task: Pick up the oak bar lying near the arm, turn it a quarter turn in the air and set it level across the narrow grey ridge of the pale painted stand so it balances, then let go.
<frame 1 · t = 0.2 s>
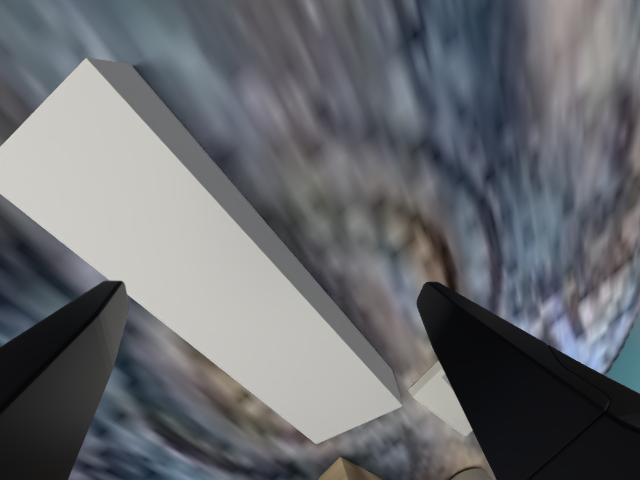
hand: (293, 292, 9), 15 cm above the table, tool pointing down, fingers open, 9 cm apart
fulcrum stand: (464, 382, 36), on the table
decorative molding: (245, 291, 26), on the table
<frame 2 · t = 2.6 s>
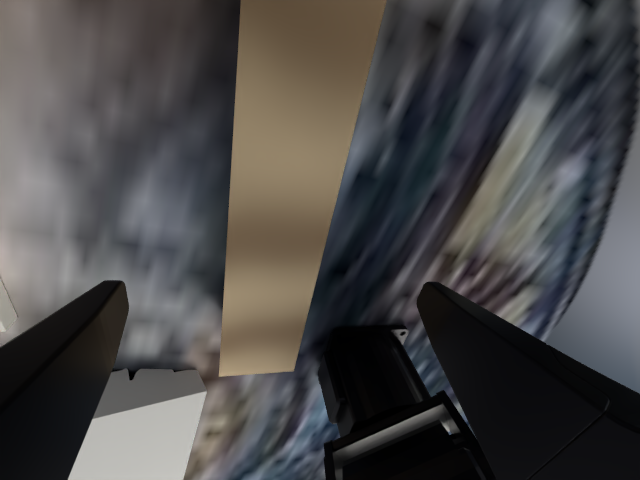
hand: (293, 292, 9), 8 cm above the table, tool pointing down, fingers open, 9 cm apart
oak bar: (269, 184, 16), on the table
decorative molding: (121, 474, 28), on the table
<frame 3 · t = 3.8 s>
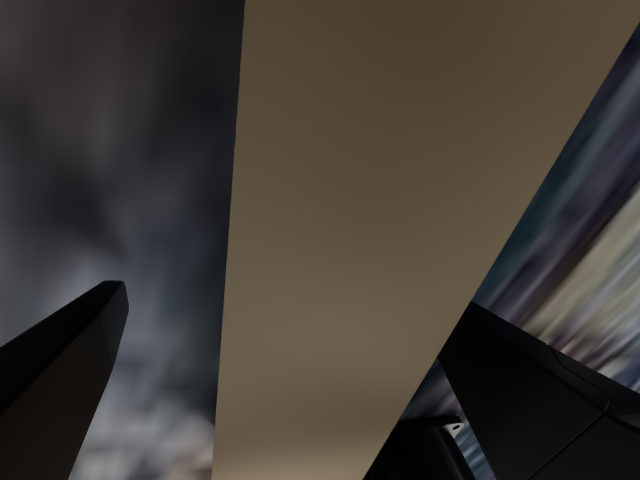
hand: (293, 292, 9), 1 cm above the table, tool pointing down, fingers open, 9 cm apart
oak bar: (288, 265, 10), on the table
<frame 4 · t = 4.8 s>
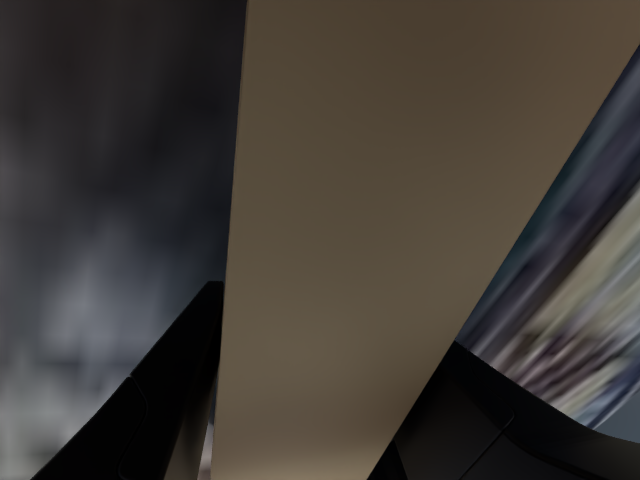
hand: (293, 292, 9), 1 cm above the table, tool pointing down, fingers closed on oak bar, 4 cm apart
oak bar: (288, 268, 10), on the table, touching gripper
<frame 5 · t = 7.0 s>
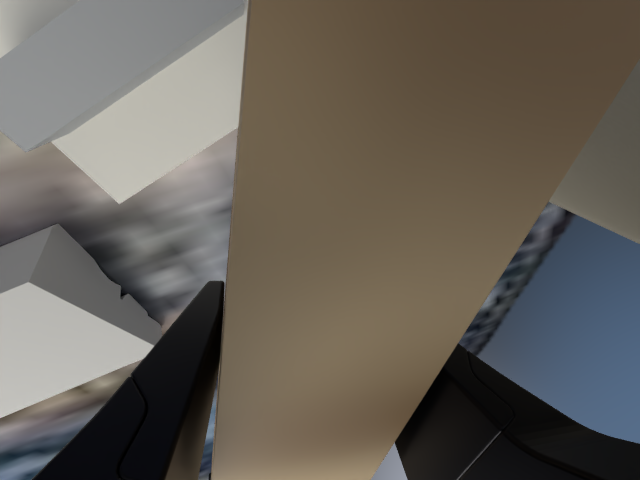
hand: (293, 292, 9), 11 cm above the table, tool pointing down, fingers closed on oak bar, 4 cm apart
oak bar: (290, 268, 10), point 10 cm above the table, touching gripper
fulcrum stand: (139, 49, 14), on the table
travel mug: (480, 95, 19), on the table
when the fingers open (7 cm above the table, at t = 9.0 s): oak bar drops 1 cm, resting on fulcrum stand.
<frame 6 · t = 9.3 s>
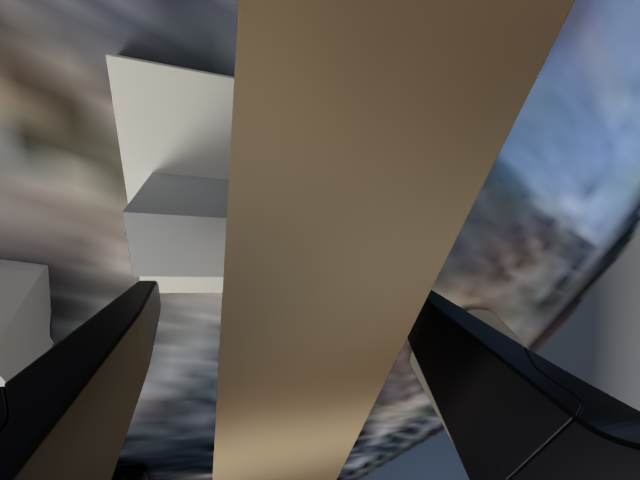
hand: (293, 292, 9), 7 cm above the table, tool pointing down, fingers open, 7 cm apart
oak bar: (285, 250, 11), point 4 cm above the table, touching fulcrum stand
fulcrum stand: (274, 200, 14), on the table
travel mug: (451, 339, 25), on the table
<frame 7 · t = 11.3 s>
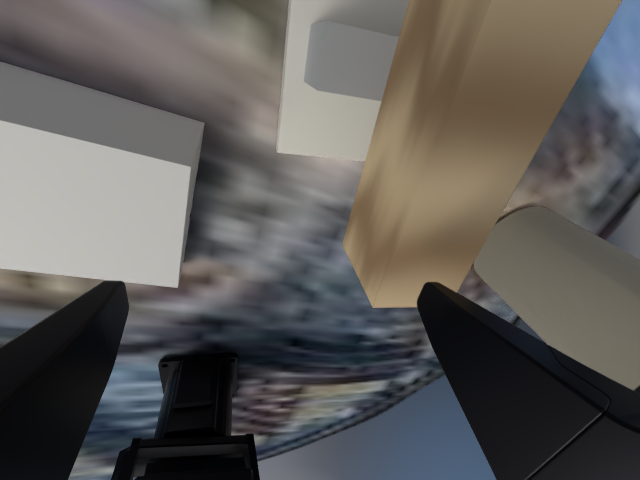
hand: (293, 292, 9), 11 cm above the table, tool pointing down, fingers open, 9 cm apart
oak bar: (430, 78, 13), point 4 cm above the table, touching fulcrum stand
fulcrum stand: (389, 70, 17), on the table
travel mug: (510, 242, 27), on the table
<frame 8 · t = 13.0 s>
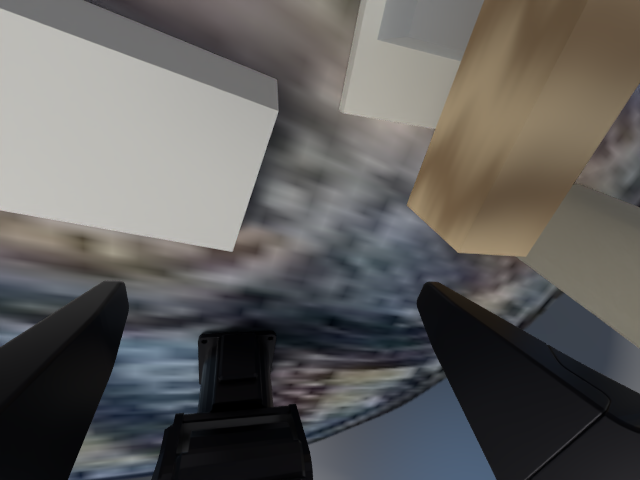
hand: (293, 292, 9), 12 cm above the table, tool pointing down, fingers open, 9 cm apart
oak bar: (512, 30, 14), point 4 cm above the table, touching fulcrum stand
fulcrum stand: (453, 36, 17), on the table
travel mug: (546, 222, 27), on the table
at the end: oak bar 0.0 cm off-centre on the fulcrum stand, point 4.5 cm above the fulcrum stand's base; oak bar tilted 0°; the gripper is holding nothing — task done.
